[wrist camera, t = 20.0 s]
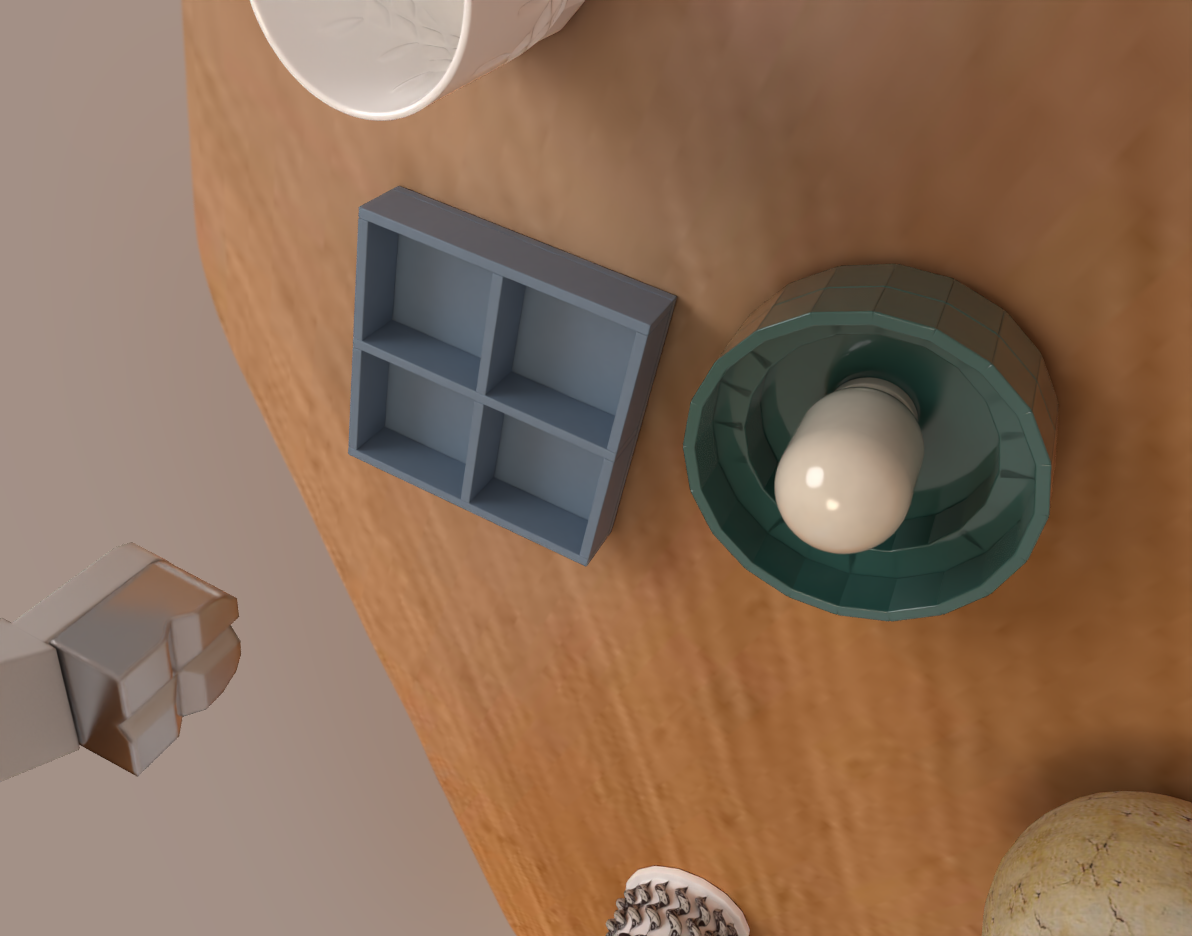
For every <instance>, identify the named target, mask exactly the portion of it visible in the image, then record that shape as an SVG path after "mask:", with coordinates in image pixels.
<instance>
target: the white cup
mask: <svg viewBox="0 0 1192 936" xmlns="http://www.w3.org/2000/svg"><path fill="white" fill-rule="evenodd" d="M584 1H585V0H250V2H251V5H252V8H253V11H254V13H255V16H256V18H257V20H258V23H259V25H260V27H261V29H262V31H263V33H264V35H265V37H266V39H267V40H268V42H269V44H270V45H271V47H272V49H273V50H274V52H275V53H276V55H277V56H278V58H279V59H280V60H281V62H282V63H283V64H284V66H285V67H286V68H287V69H288V71H289V72H290V73H291V74H292V75H293V76H294V77H295V78H296V80H297V81H298V82H299V83H300V84H301V85H303V86H304V87H305V88H306V89H307V90H308V91H309V92H310V93H312V94H313V95H314V96H316V97H317V98H318V99H320V100H321V101H323V102H324V103H326V104H327V105H329V106H331V107H332V108H334V109H336V110H338V111H340V112H343V113H345V114H348V115H351V116H354V117H357V118H361V119H366V120H375V121H387V120H395V119H400V118H404V117H407V116H409V115H412V114H414V113H416V112H418V111H420V110H422V109H424V108H426V107H427V106H429V105H431V104H433V103H435V102H436V101H438V100H440V99H442V98H444V97H446V96H447V95H449V94H451V93H453V92H455V91H457V90H459V89H460V88H462V87H464V86H466V85H468V84H470V83H472V82H474V81H476V80H477V79H479V78H481V77H483V76H485V75H487V74H489V73H491V72H492V71H494V70H496V69H498V68H499V67H501V66H502V65H504V64H505V63H507V62H509V61H511V60H513V59H514V58H516V57H518V56H519V55H521V54H523V53H524V52H525V51H527V50H528V49H529V48H530V47H532V46H533V45H534V44H535V43H537V42H538V41H540V40H542V39H544V38H546V37H548V36H550V35H552V34H554V33H556V32H558V31H560V30H561V29H562V28H563V27H564V26H565V25H566V23H567V22H568V21H569V20H570V19H571V17H572V16H573V15H574V14H575V12H576V11H577V10H578V9H579V8H580V6H581V5H582V4H583V3H584Z"/></svg>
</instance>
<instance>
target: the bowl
mask: <svg viewBox="0 0 1192 936" xmlns="http://www.w3.org/2000/svg"><path fill="white" fill-rule="evenodd" d="M866 377H870V378H878V379H883V380H886V381H888V382H891V383H893V384H895V385H896V386H898V387H899V388H901V389H902V390H903V391H904V392H905V393H906V394H907V395H908V396H909V397H910V399H911V400H912V402H913V403H914V405H915V408H916V411H917V414H918V423H919V426H920V428H921V430H922V434H923V437H924V446H925V455H924V462H923V466H922V470H921V473H920V477H919V480H918V483H917V486H916V490H915V493H914V496H913V499H912V503H911V506H910V509H909V511H908V514H907V516H906V518H905V520H904V521H903V523H902V525H901V526H900V527H899V529H898V530H897V531H896V532H895V533H894V534H893V535H892V536H891V537H890V538H889V539H887V540H886V541H885V542H883V543H882V544H880V545H879V546H877V547H874V548H872V549H870V550H867V551H864V552H861V553H855V554H832V553H827V552H823V551H820V550H818V549H815V548H813V547H811V546H809V545H808V544H806V543H804V542H803V541H802V540H800V539H799V538H798V537H797V536H796V535H795V534H793V532H792V531H791V530H790V529H789V528H788V526H787V525H786V524H785V522H784V521H783V519H782V517H781V515H780V513H779V510H778V507H777V504H776V500H775V493H774V481H775V473H776V470H777V466H778V463H779V461H780V459H781V457H782V455H783V453H784V451H785V449H786V447H787V445H788V443H789V441H790V439H791V437H792V436H793V434H794V432H795V430H796V428H797V426H798V424H799V422H800V420H801V419H802V417H803V416H804V414H805V413H806V412H807V410H808V409H809V408H810V407H811V406H812V405H813V404H814V403H815V402H817V401H818V400H819V399H820V398H822V397H824V396H825V395H827V394H829V393H831V392H834V391H835V390H836V389H837V388H838V387H840V386H841V385H842V384H844V383H846V382H848V381H850V380H854V379H857V378H866ZM1058 412H1059V404H1058V399H1057V396H1056V394H1055V391H1054V388H1053V385H1052V382H1051V379H1050V377H1049V374H1048V371H1047V368H1046V365H1045V363H1044V360H1043V357H1042V355H1041V353H1040V351H1039V350H1038V349H1037V348H1036V346H1035V345H1034V344H1033V343H1032V342H1031V340H1030V339H1029V338H1028V337H1027V336H1026V334H1025V333H1024V332H1023V331H1022V330H1021V329H1020V327H1019V326H1018V325H1017V324H1016V323H1015V321H1014V320H1013V319H1012V318H1011V317H1010V315H1009V314H1008V313H1007V312H1006V311H1004V310H1003V309H1002V308H1000V307H999V306H997V305H995V304H994V303H992V302H991V301H989V300H987V299H986V298H984V297H982V296H981V295H979V294H978V293H976V292H974V291H973V290H971V289H970V288H968V287H966V286H965V285H963V284H961V283H960V282H958V281H957V280H954V279H953V278H950V277H946V276H942V275H938V274H934V273H931V272H927V271H923V270H919V269H915V268H911V267H908V266H904V265H900V264H897V265H896V264H876V265H848V266H840V267H839V266H838V267H835V268H832V269H829V270H826V271H823V272H821V273H818V274H815V275H812V276H809V277H806V278H804V279H801V280H798V281H795V282H792V283H790V284H789V285H786V286H785V287H784V288H783V289H781V290H780V291H779V292H778V293H776V294H775V295H774V296H772V297H771V298H770V299H769V300H767V301H766V302H765V303H764V304H762V305H761V306H760V307H758V308H757V309H756V310H755V311H753V312H752V313H751V314H750V315H749V316H748V318H747V319H746V320H745V322H744V323H743V325H742V326H741V327H740V329H739V330H738V331H737V333H736V334H735V336H734V337H733V338H732V340H731V341H730V342H729V344H728V345H727V346H726V348H725V349H724V351H723V352H722V353H721V355H720V356H719V357H718V359H717V360H716V361H715V363H714V365H713V366H712V368H711V369H710V371H709V373H708V374H707V376H706V377H705V379H704V381H703V382H702V384H701V386H700V387H699V389H698V390H697V392H696V394H695V395H694V397H693V398H692V401H691V403H690V409H689V414H688V420H687V425H686V430H685V436H684V441H683V450H684V456H685V462H686V468H687V474H688V480H689V486H690V490H691V493H692V495H693V497H694V499H695V501H696V503H697V505H698V507H699V509H700V511H701V513H702V515H703V516H704V518H705V520H706V522H707V524H708V526H709V528H710V530H711V532H712V533H713V535H714V536H715V537H716V538H717V539H718V540H719V541H720V542H721V543H722V544H723V545H724V546H725V548H726V549H727V550H728V551H729V552H730V553H731V554H732V555H733V556H734V557H735V558H736V559H737V560H738V562H739V563H740V564H741V565H742V566H743V567H744V568H746V570H748V571H749V572H751V573H752V574H754V575H755V576H757V577H759V578H760V579H762V580H763V581H765V582H766V583H768V584H769V585H771V586H772V587H774V588H775V589H777V590H778V591H780V592H781V593H783V594H784V595H786V596H789V597H790V598H792V599H795V600H798V601H800V602H803V603H806V604H809V605H811V606H814V607H817V608H819V609H822V610H825V611H828V612H830V613H833V614H836V615H837V614H838V615H840V616H849V617H857V618H865V619H873V620H881V621H899V620H907V619H915V618H923V617H931V616H939V615H942V614H943V615H944V614H946V613H949V612H951V611H953V610H956V609H958V608H960V607H963V606H965V605H967V604H970V603H972V602H974V601H977V600H979V599H981V598H984V597H986V596H988V595H989V594H991V593H993V592H994V591H995V590H996V589H997V588H998V587H999V586H1000V585H1001V584H1003V583H1004V582H1005V581H1006V580H1007V579H1008V578H1009V577H1010V576H1011V575H1012V574H1014V573H1015V572H1016V571H1017V570H1018V569H1019V568H1020V567H1021V566H1022V565H1024V564H1025V563H1026V562H1027V560H1028V559H1029V557H1030V555H1031V553H1032V551H1033V549H1034V547H1035V545H1036V543H1037V541H1038V539H1039V537H1040V535H1041V533H1042V530H1043V528H1044V526H1045V524H1046V522H1047V520H1048V518H1049V515H1050V508H1051V498H1052V489H1053V480H1054V471H1055V462H1056V453H1057V434H1058Z"/></svg>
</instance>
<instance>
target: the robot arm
mask: <svg viewBox="0 0 1192 936" xmlns="http://www.w3.org/2000/svg"><path fill="white" fill-rule="evenodd" d="M238 617H239V613H238V604H237V598H235V597H234V596H231V595H230V594H228V593H226V592H224V591H222V590H220V589H218V588H216V587H215V586H213V585H211V584H209V583H207V582H205V581H203V580H201V579H200V578H198V577H196V576H194V575H192V574H190V573H188V572H186V571H184V570H183V569H181V568H178V567H176V566H175V565H173V564H171V563H170V562H169V561H167V560H165V559H163V558H161V557H159V556H157V555H156V554H154V553H152V552H150V551H148V550H146V549H144V548H142V547H140V546H138V545H136V544H134V543H132V542H131V543H127V544H124V545H121V546H118V547H116V548H113V549H112V550H111V551H109V552H108V553H107V554H105V555H104V556H102V557H101V558H100V559H98V560H97V561H96V562H94V563H93V564H92V565H90V566H89V567H87V568H86V569H85V570H83V571H82V572H81V573H79V574H78V575H76V576H75V577H74V578H72V579H71V580H70V581H68V582H67V583H66V584H65V585H63V586H62V587H60V588H59V589H57V590H56V591H55V592H53V593H52V594H51V595H49V596H48V597H46V598H45V599H44V600H42V601H41V602H40V603H38V604H37V605H35V606H34V607H33V608H31V609H30V610H29V611H27V612H26V613H25V614H23V615H22V616H21V617H19V618H18V619H16V620H15V621H14V622H12V623H11V622H9V621H7V620H5V619H3V618H0V782H2V781H4V780H6V779H9V778H11V777H14V776H16V775H19V774H21V773H24V772H26V771H28V770H31V769H33V768H36V767H38V766H41V765H43V764H45V763H48V762H50V761H53V760H55V759H57V758H60V757H63V756H65V755H67V754H70V753H72V752H75V751H77V750H79V748H80V747H79V745H81V746H83V747H85V748H86V749H88V750H90V751H92V752H94V753H95V754H97V755H99V756H101V757H103V758H105V759H106V760H108V761H110V762H112V763H114V764H116V765H118V766H119V767H121V768H123V769H125V770H126V771H128V772H130V773H132V774H134V775H136V776H139V775H140V774H141V773H142V772H143V771H144V770H145V769H146V768H147V767H148V766H149V765H150V764H151V763H152V762H153V761H154V760H155V759H156V758H157V757H158V756H159V755H160V754H161V753H162V752H163V751H164V750H165V749H167V748H168V747H169V746H170V745H171V744H172V743H173V742H174V741H175V740H176V739H177V738H178V737H179V734H180V728H181V722H182V717H184V716H187V715H190V714H193V713H196V712H200V711H203V710H206V709H207V708H208V707H209V706H210V705H211V704H212V703H213V702H214V701H215V700H216V699H217V698H218V697H219V696H220V695H221V694H222V693H223V692H224V690H225V688H226V687H227V685H228V683H229V682H230V680H231V679H232V677H233V675H234V674H235V672H236V670H237V667H238V663H239V659H240V656H241V646H240V640H239V638H238V637H237V635H236V633H235V632H234V630H233V628H232V627H231V624H232V623H233V622H234V621H235V620H236V619H237V618H238Z"/></svg>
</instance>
